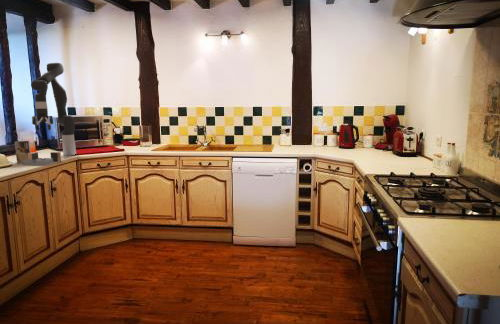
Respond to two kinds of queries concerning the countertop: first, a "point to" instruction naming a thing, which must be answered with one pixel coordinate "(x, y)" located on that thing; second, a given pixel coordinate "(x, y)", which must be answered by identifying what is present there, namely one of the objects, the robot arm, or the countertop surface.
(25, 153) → the coffee box
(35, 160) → the grey piece
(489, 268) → the countertop surface
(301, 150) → the countertop surface
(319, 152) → the countertop surface
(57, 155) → the dark brown block
